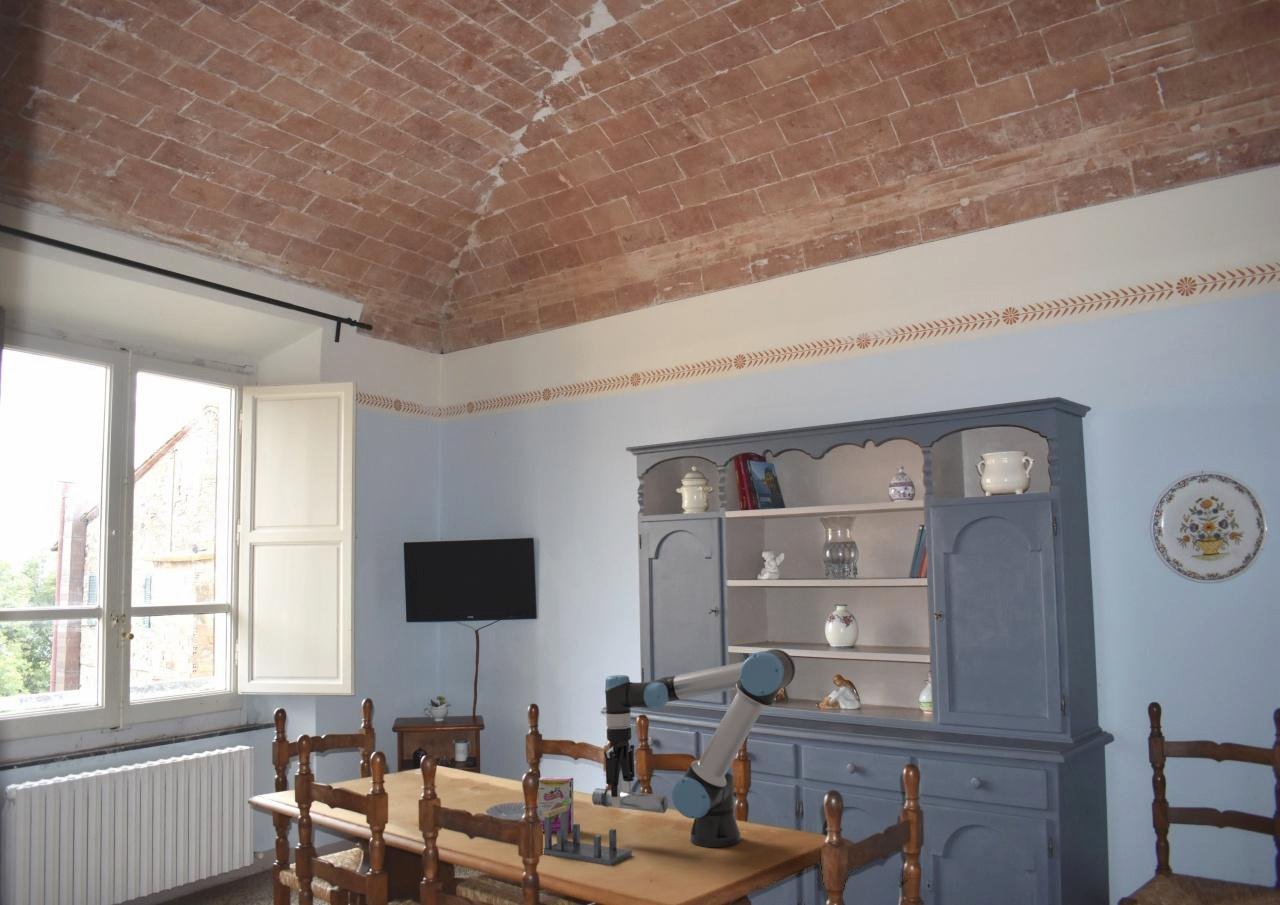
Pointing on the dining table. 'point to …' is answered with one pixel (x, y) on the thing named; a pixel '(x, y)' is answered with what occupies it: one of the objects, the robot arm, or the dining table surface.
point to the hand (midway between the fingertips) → (621, 805)
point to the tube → (632, 800)
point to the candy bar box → (555, 800)
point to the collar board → (578, 849)
